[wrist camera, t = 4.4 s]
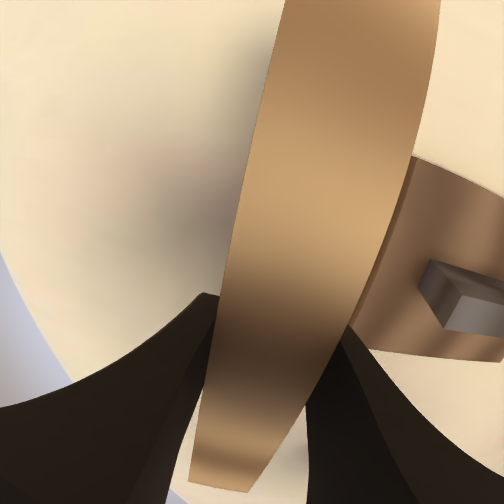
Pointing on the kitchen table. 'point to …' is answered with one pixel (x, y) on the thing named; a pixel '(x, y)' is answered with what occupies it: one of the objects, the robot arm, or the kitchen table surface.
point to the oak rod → (309, 217)
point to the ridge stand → (437, 272)
